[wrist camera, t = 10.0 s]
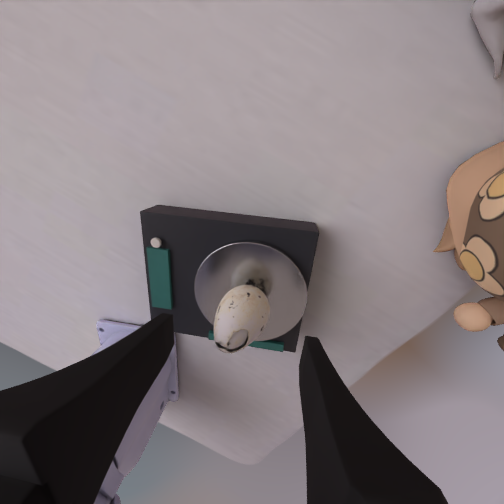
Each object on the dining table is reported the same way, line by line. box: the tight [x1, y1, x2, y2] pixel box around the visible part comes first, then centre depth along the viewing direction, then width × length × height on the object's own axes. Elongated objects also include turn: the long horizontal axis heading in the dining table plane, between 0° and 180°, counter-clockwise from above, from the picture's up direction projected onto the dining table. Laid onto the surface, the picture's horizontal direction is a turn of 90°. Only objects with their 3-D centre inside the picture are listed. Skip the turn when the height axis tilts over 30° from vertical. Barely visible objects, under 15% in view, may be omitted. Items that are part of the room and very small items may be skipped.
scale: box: [140, 205, 319, 352], centre depth 18 cm, size 10×12×3 cm
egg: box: [214, 285, 270, 353], centre depth 14 cm, size 3×3×5 cm
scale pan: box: [194, 240, 307, 341], centre depth 17 cm, size 8×8×1 cm
